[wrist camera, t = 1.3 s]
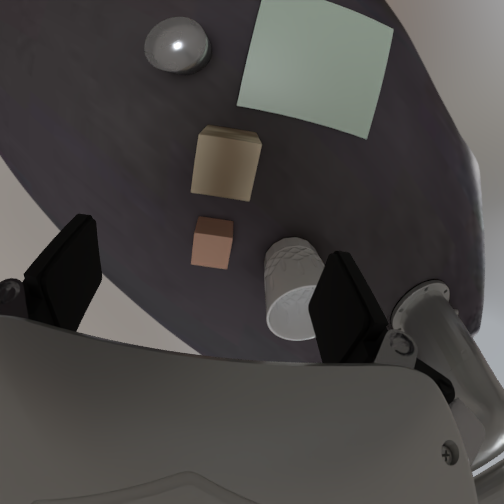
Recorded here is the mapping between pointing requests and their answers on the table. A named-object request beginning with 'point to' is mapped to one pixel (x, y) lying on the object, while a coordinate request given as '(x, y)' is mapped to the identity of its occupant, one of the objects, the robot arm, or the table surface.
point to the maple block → (226, 162)
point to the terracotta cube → (212, 242)
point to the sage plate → (316, 64)
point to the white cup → (291, 287)
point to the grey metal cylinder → (178, 46)
